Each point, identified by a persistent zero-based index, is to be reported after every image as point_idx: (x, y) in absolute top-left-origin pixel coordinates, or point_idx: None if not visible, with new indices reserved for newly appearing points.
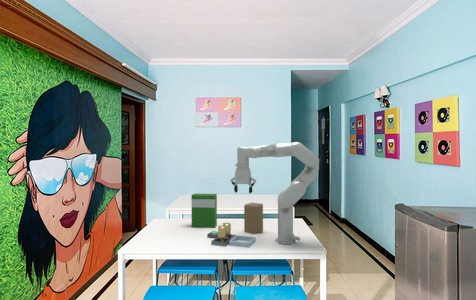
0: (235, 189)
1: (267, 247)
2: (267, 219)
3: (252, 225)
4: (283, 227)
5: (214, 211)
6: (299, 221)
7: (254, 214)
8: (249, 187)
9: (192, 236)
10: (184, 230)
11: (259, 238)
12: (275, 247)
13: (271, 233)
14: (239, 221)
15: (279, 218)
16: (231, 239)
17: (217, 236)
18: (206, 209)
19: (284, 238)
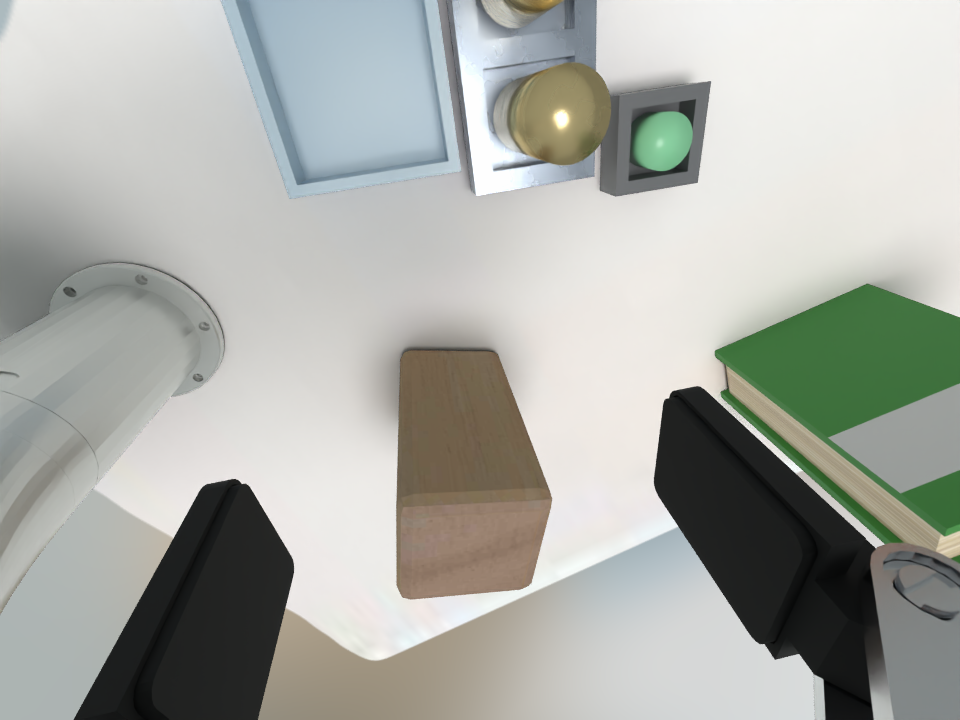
0: (738, 448)
1: (142, 128)
2: (502, 596)
3: (433, 381)
4: (21, 335)
5: (806, 414)
6: (343, 640)
7: (417, 440)
8: (114, 692)
9: (818, 86)
10: (905, 198)
11: (344, 303)
12: (91, 163)
13: (342, 428)
14: (622, 511)
15: (13, 386)
16: (433, 8)
17: (613, 103)
18: (887, 395)
19: (83, 297)
